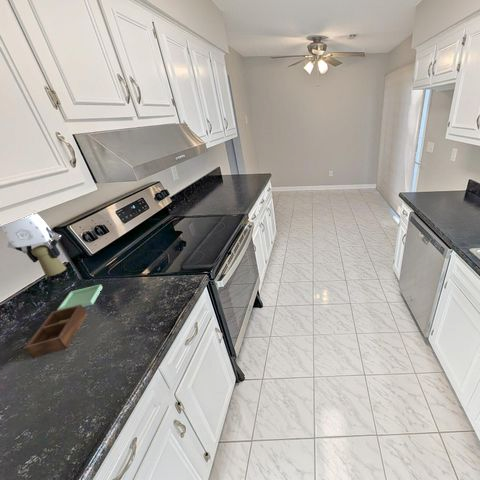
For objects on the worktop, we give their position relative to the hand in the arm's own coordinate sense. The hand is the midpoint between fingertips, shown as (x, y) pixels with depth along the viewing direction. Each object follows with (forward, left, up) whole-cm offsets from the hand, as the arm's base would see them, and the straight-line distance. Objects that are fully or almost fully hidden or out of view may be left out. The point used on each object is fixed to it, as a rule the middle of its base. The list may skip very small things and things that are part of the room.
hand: (47, 258), depth 94 cm
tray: (0, +4, -23) cm, 23 cm away
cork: (0, 0, -6) cm, 6 cm away
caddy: (+1, -17, -23) cm, 29 cm away
